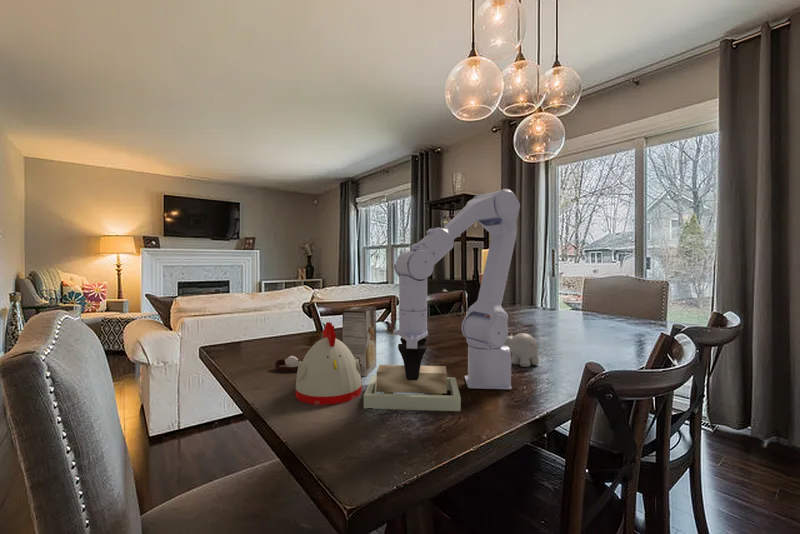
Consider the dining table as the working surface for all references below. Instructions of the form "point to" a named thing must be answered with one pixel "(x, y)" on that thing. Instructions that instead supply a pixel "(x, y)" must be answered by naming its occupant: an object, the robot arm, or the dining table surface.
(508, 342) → the round bodied animal figurine
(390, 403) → the peg frame
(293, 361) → the watch
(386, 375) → the board
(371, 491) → the dining table surface
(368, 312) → the coffee box
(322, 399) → the kitchen timer
